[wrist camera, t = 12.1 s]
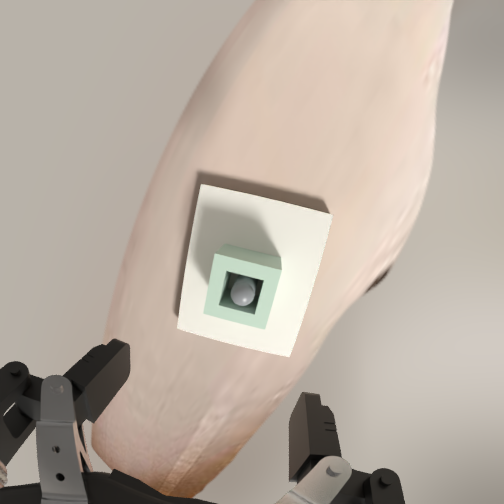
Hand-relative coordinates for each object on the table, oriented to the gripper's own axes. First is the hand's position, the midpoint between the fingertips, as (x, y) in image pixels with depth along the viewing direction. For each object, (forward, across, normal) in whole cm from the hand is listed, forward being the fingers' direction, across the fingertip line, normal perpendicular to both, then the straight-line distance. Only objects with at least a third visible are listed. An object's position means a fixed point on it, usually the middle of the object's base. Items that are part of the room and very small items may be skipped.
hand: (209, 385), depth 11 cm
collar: (+17, 0, 0) cm, 17 cm away
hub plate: (+18, 0, 0) cm, 18 cm away
